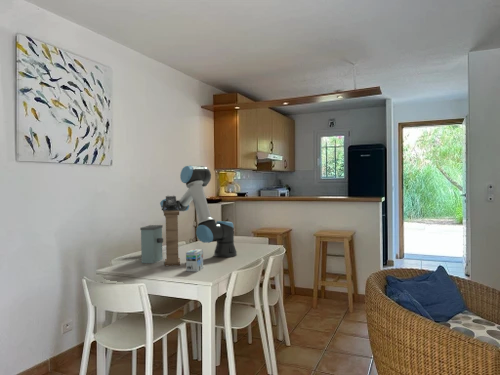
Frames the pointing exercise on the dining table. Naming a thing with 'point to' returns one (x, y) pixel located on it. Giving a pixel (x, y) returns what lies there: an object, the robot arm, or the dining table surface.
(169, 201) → the crank handle
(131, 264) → the dining table surface
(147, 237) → the blue lidded container
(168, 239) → the tall stand
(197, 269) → the light bulb box
